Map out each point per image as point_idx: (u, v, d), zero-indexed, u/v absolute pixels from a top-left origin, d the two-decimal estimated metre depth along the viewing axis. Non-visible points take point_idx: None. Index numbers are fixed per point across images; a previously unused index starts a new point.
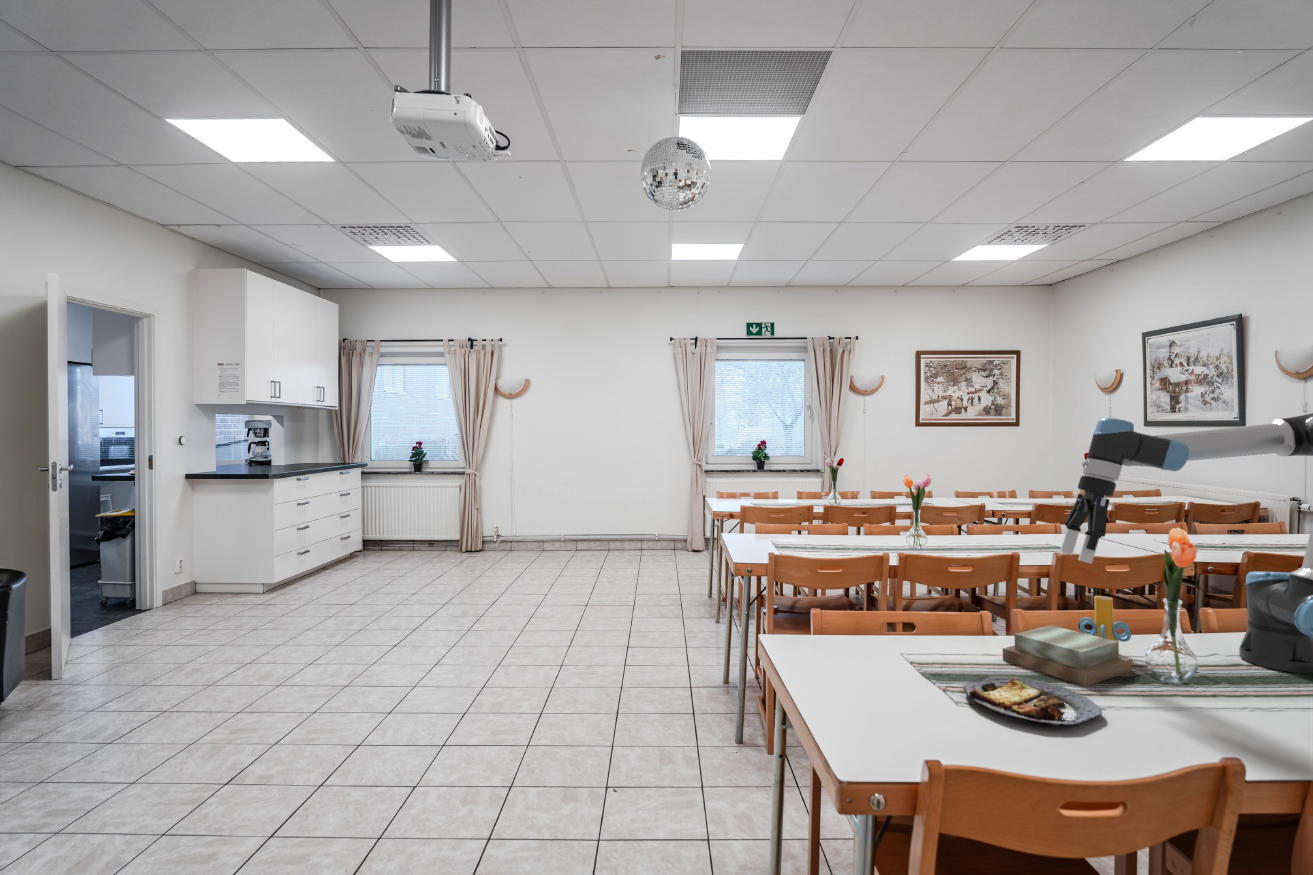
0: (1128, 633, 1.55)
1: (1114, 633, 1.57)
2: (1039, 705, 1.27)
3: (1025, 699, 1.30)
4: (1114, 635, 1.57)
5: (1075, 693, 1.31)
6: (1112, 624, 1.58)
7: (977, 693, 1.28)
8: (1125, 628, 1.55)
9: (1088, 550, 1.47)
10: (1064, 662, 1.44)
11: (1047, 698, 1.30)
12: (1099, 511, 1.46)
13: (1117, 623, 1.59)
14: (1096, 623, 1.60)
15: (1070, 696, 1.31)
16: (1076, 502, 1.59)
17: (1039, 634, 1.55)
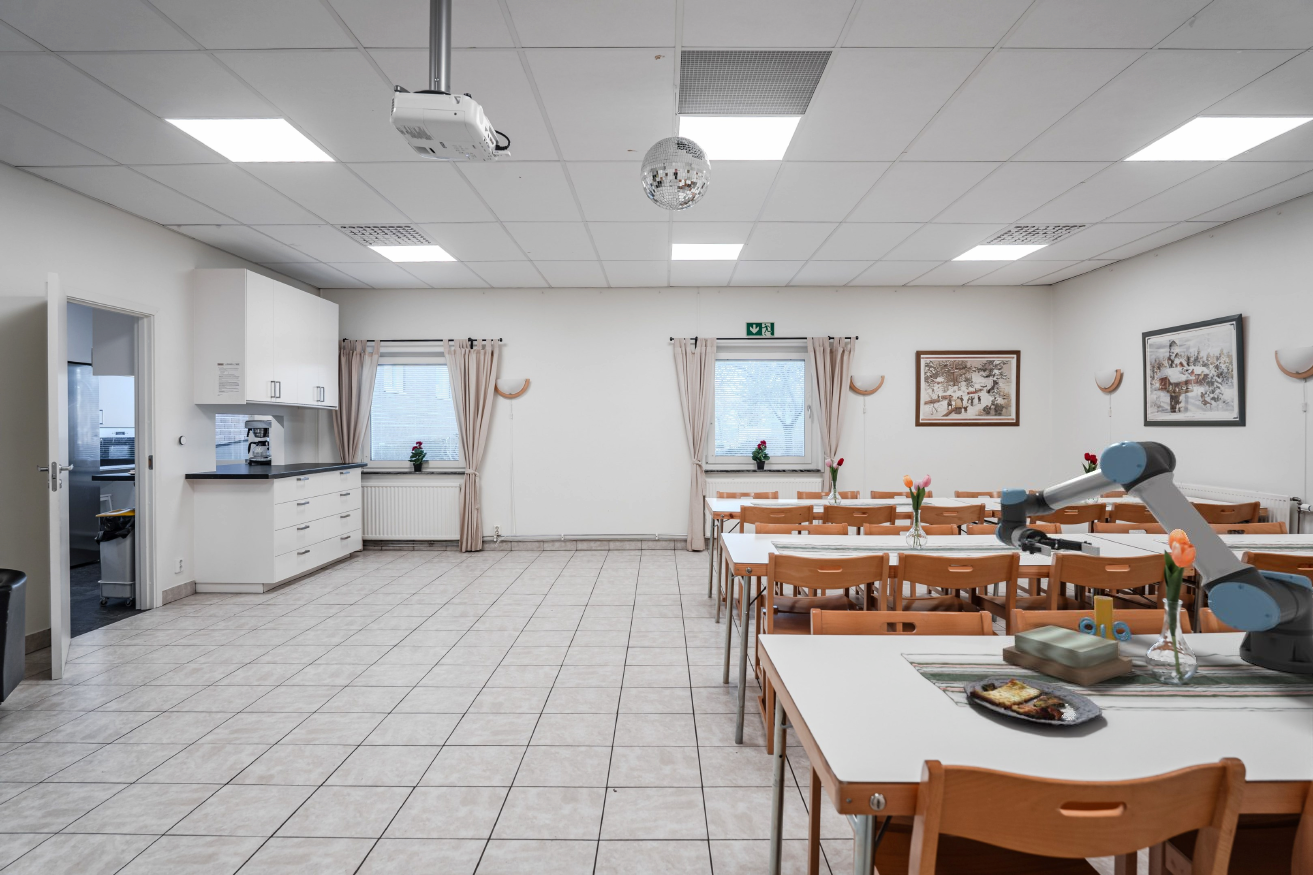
0: (1128, 633, 1.55)
1: (1114, 633, 1.57)
2: (1039, 705, 1.27)
3: (1025, 699, 1.30)
4: (1114, 635, 1.57)
5: (1075, 693, 1.31)
6: (1112, 624, 1.58)
7: (977, 693, 1.28)
8: (1125, 628, 1.55)
9: (1042, 550, 1.74)
10: (1064, 662, 1.44)
11: (1047, 698, 1.30)
12: None
13: (1117, 623, 1.59)
14: (1096, 623, 1.60)
15: (1070, 696, 1.31)
16: None
17: (1039, 634, 1.55)
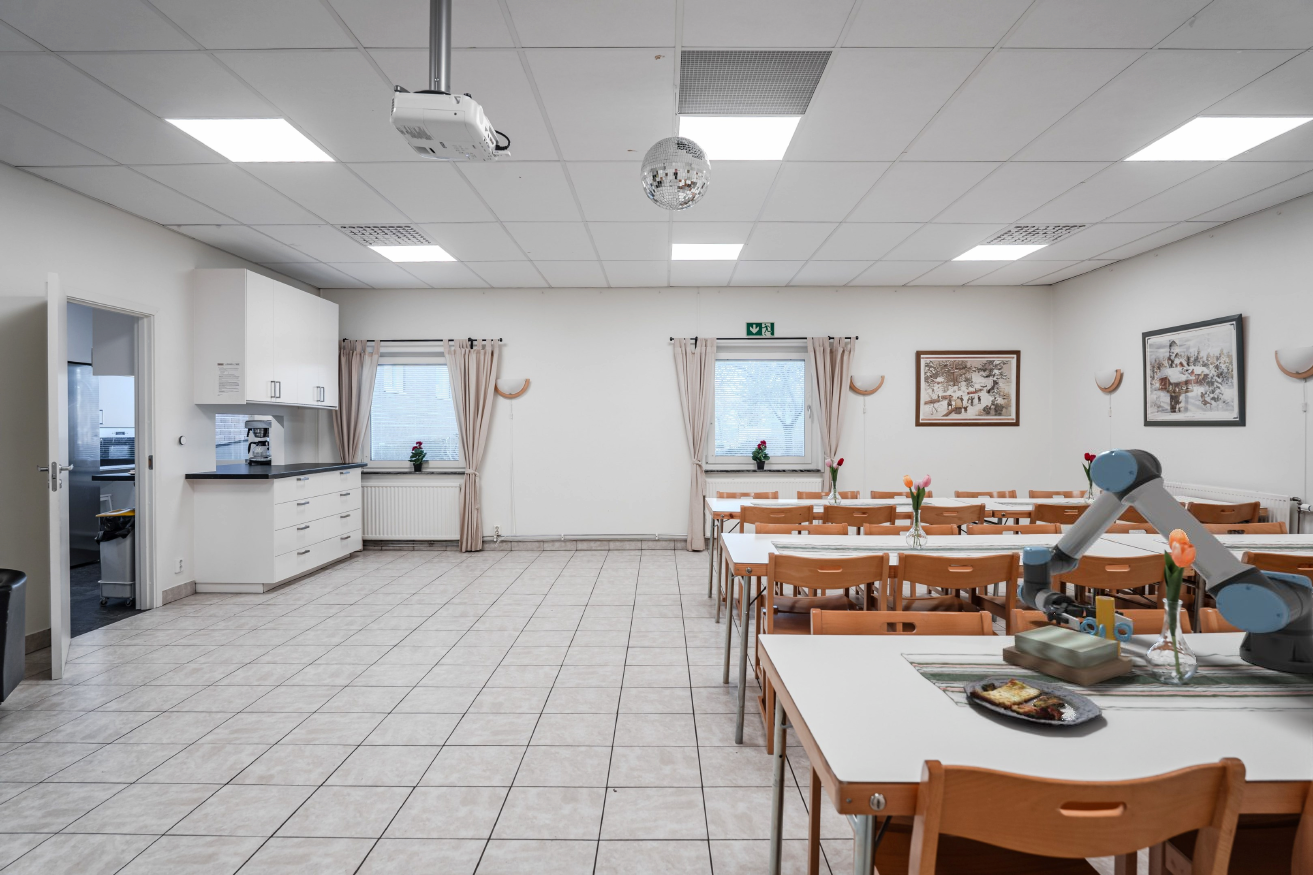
0: (1128, 634, 1.54)
1: (1115, 633, 1.57)
2: (1039, 705, 1.27)
3: (1025, 699, 1.30)
4: (1115, 635, 1.57)
5: (1075, 693, 1.31)
6: (1113, 624, 1.58)
7: (977, 693, 1.28)
8: (1125, 629, 1.55)
9: (1069, 622, 1.62)
10: (1064, 662, 1.44)
11: (1047, 698, 1.30)
12: (1046, 613, 1.72)
13: (1120, 624, 1.58)
14: (1097, 623, 1.60)
15: (1070, 696, 1.31)
16: None
17: (1039, 634, 1.55)
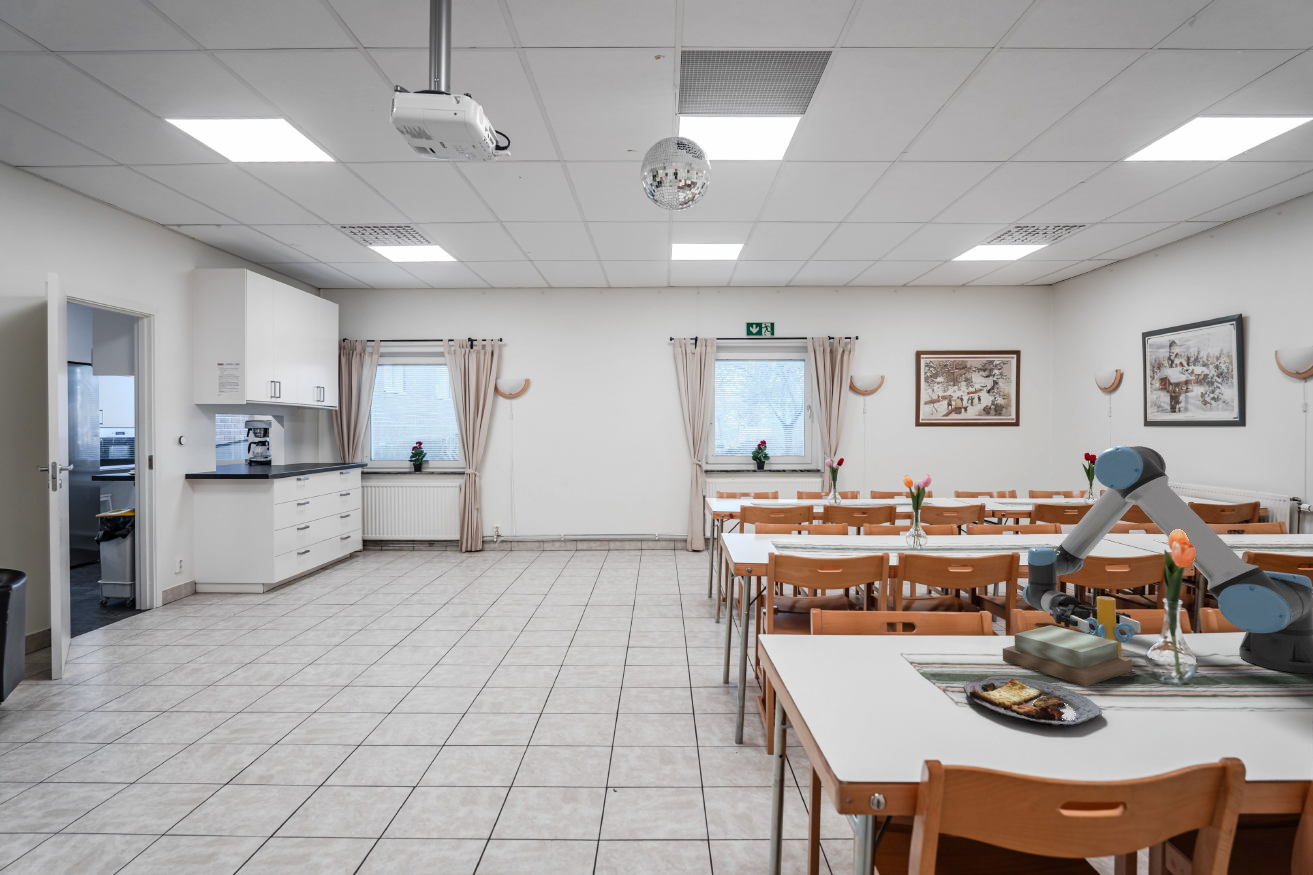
0: (1127, 634, 1.54)
1: (1115, 634, 1.57)
2: (1039, 705, 1.27)
3: (1025, 699, 1.30)
4: (1115, 636, 1.57)
5: (1075, 693, 1.31)
6: (1114, 625, 1.57)
7: (977, 693, 1.28)
8: (1125, 629, 1.54)
9: (1078, 624, 1.60)
10: (1064, 662, 1.44)
11: (1047, 698, 1.30)
12: (1053, 615, 1.70)
13: (1121, 624, 1.58)
14: (1098, 623, 1.60)
15: (1070, 696, 1.31)
16: None
17: (1039, 634, 1.55)
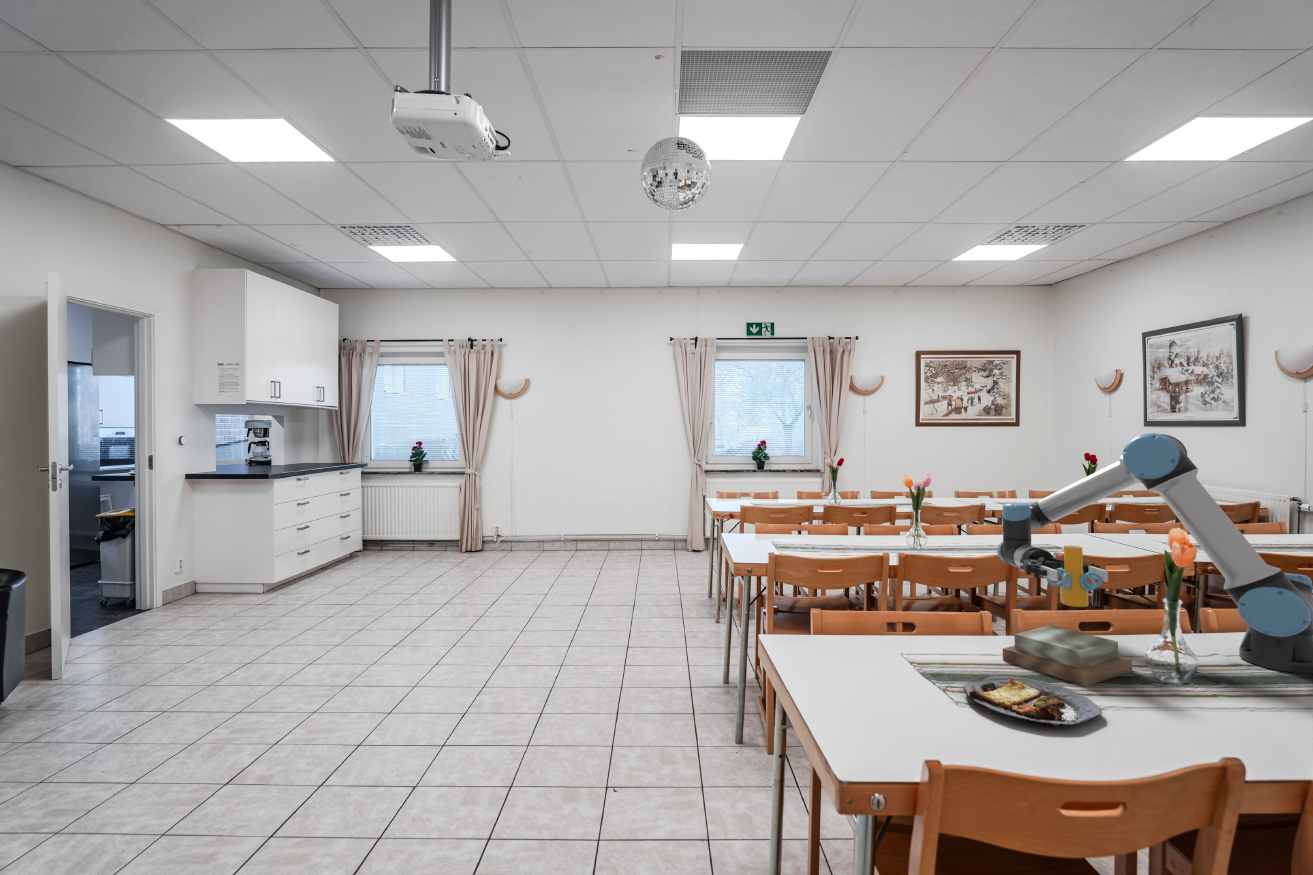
0: (1092, 582, 1.50)
1: (1081, 583, 1.54)
2: (1039, 705, 1.27)
3: (1025, 699, 1.30)
4: (1081, 585, 1.54)
5: (1075, 693, 1.31)
6: (1080, 574, 1.54)
7: (977, 693, 1.28)
8: (1090, 577, 1.51)
9: (1047, 573, 1.56)
10: (1064, 662, 1.44)
11: (1047, 698, 1.30)
12: (1023, 567, 1.67)
13: (1088, 573, 1.55)
14: (1064, 572, 1.57)
15: (1070, 696, 1.31)
16: None
17: (1039, 634, 1.55)
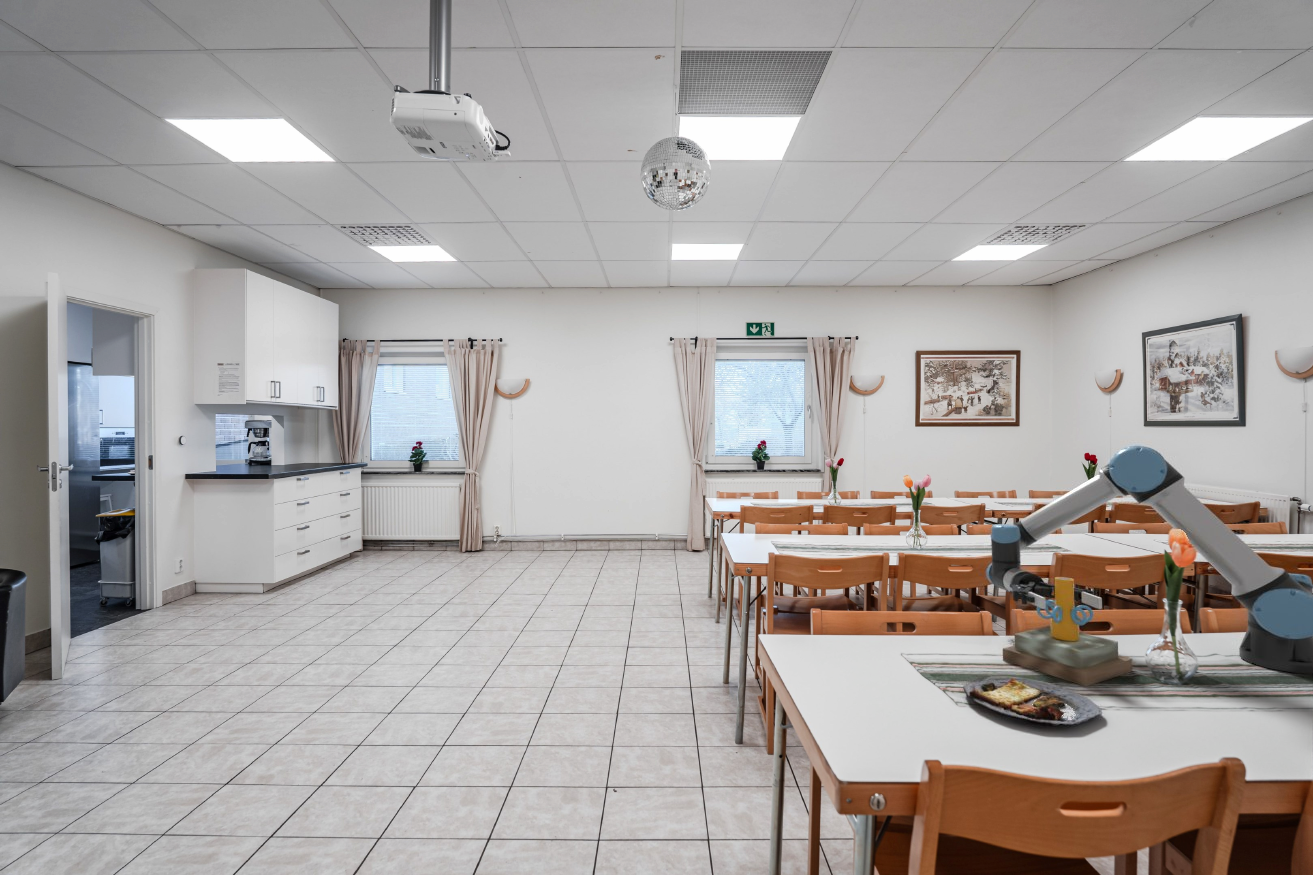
0: (1084, 616, 1.46)
1: (1072, 616, 1.49)
2: (1039, 705, 1.27)
3: (1025, 699, 1.30)
4: (1072, 618, 1.49)
5: (1075, 693, 1.31)
6: (1071, 607, 1.50)
7: (977, 693, 1.28)
8: (1081, 611, 1.47)
9: (1035, 600, 1.52)
10: (1064, 662, 1.44)
11: (1047, 698, 1.30)
12: (1012, 592, 1.62)
13: (1079, 607, 1.50)
14: (1055, 605, 1.52)
15: (1070, 696, 1.31)
16: None
17: (1039, 634, 1.55)
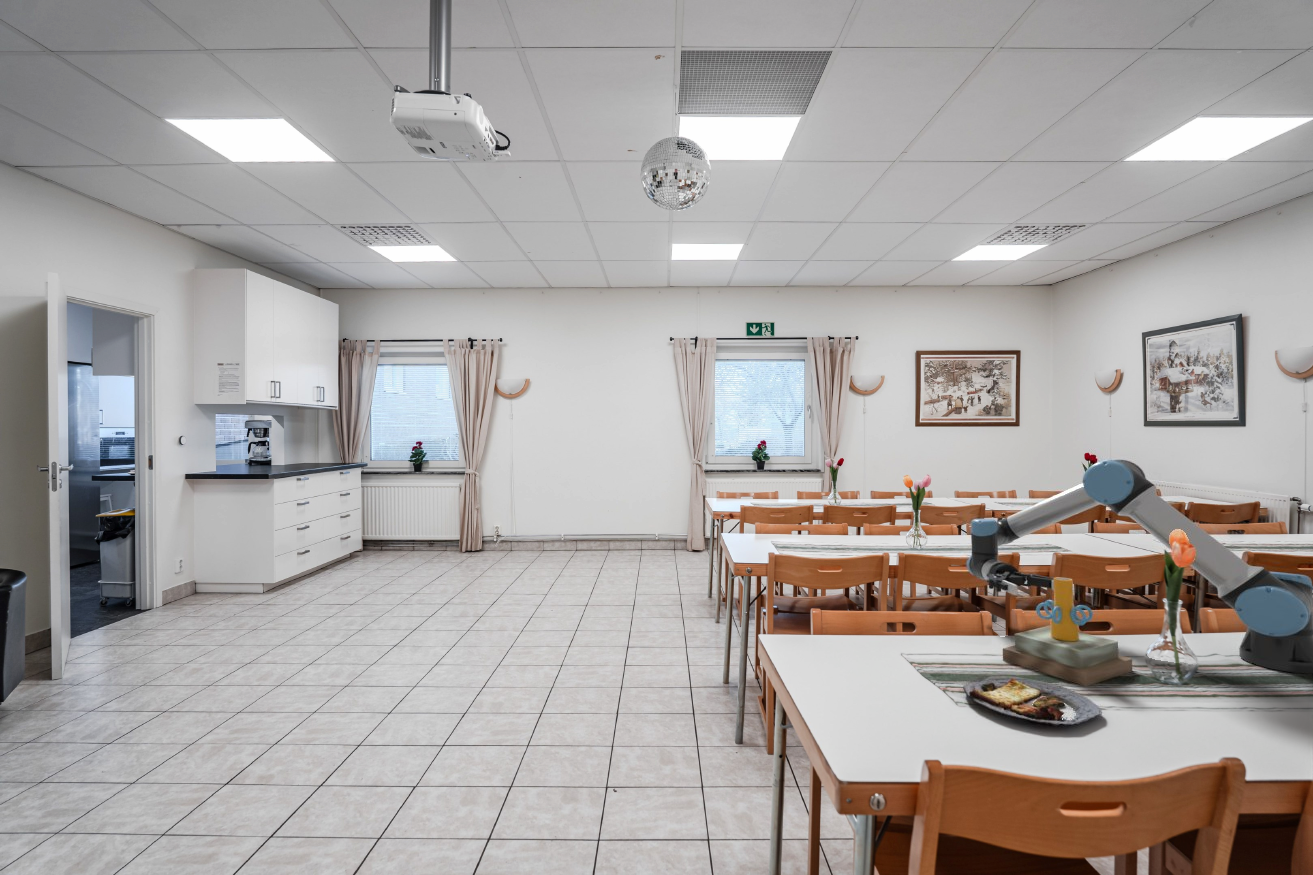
0: (1083, 616, 1.46)
1: (1072, 616, 1.49)
2: (1039, 705, 1.27)
3: (1025, 699, 1.30)
4: (1071, 618, 1.49)
5: (1075, 693, 1.31)
6: (1070, 607, 1.50)
7: (977, 693, 1.28)
8: (1081, 611, 1.47)
9: (1008, 588, 1.65)
10: (1064, 662, 1.44)
11: (1047, 698, 1.30)
12: None
13: (1079, 606, 1.50)
14: (1054, 605, 1.52)
15: (1070, 696, 1.31)
16: None
17: (1039, 634, 1.55)
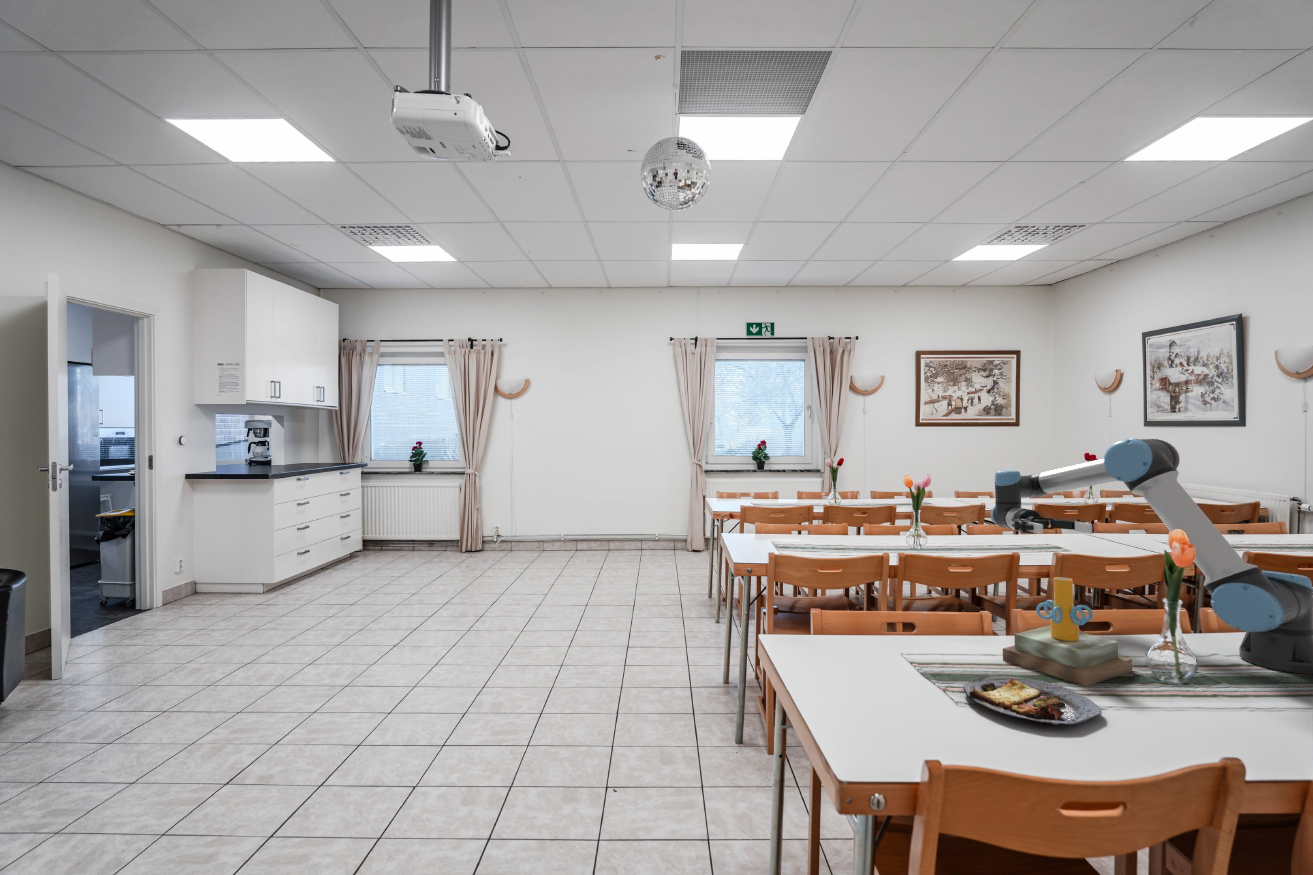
0: (1083, 616, 1.46)
1: (1072, 616, 1.49)
2: (1039, 705, 1.27)
3: (1025, 699, 1.30)
4: (1071, 618, 1.49)
5: (1075, 693, 1.31)
6: (1070, 607, 1.50)
7: (977, 693, 1.28)
8: (1081, 611, 1.47)
9: (1034, 528, 1.74)
10: (1064, 662, 1.44)
11: (1047, 698, 1.30)
12: None
13: (1078, 606, 1.50)
14: (1054, 605, 1.52)
15: (1069, 696, 1.31)
16: None
17: (1039, 634, 1.55)
